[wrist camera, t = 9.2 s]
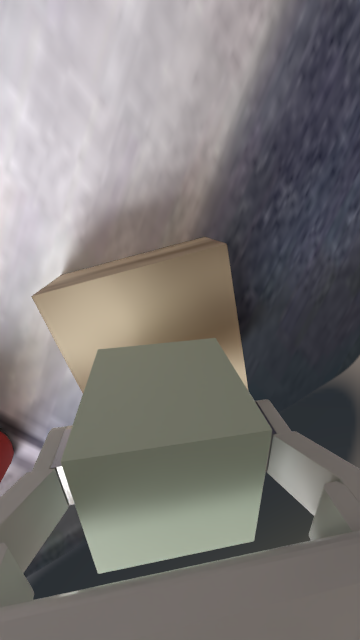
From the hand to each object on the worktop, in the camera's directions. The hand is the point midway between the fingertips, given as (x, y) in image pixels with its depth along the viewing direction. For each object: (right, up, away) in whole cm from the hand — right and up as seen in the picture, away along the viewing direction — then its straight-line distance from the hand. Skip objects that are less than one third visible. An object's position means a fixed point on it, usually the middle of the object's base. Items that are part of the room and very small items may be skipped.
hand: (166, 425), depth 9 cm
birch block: (-1, +4, +9) cm, 10 cm away
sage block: (0, +1, +2) cm, 2 cm away
